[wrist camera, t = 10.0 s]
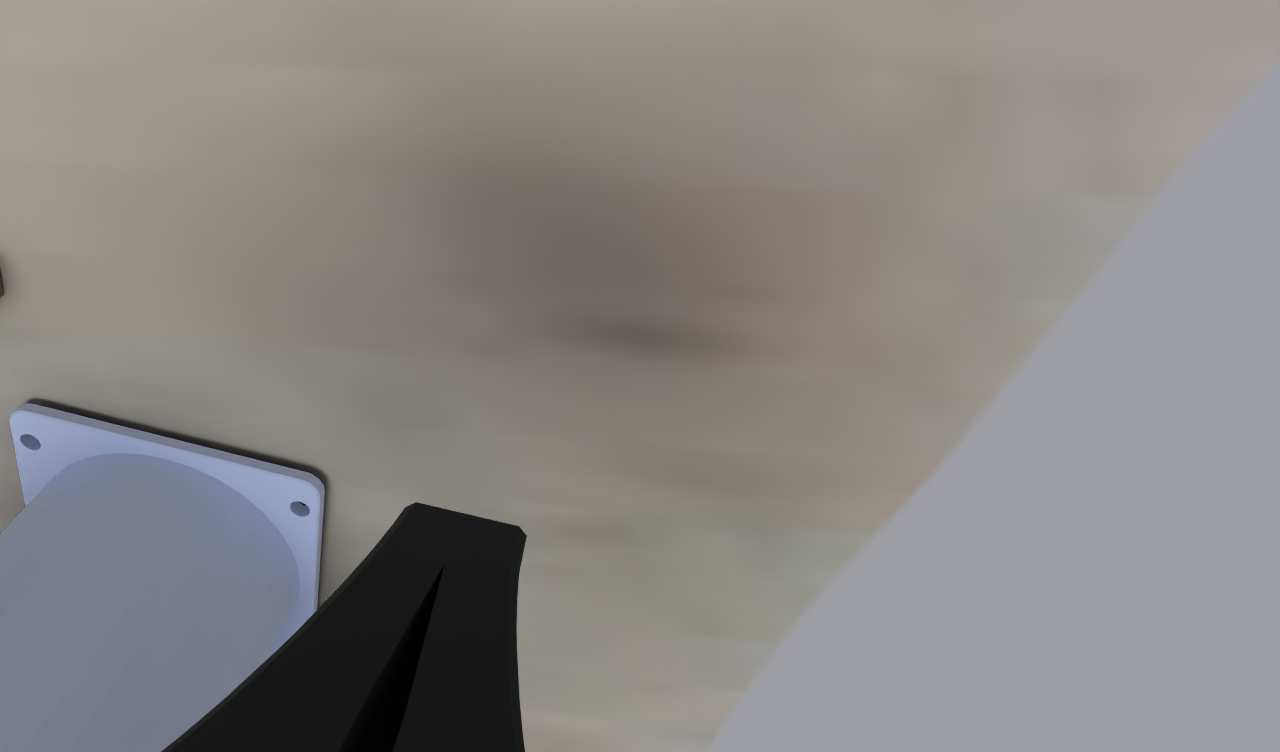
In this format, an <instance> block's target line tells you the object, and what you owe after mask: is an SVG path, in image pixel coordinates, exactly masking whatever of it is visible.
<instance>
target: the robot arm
mask: <svg viewBox="0 0 1280 752" xmlns="http://www.w3.org/2000/svg"><path fill="white" fill-rule="evenodd" d="M9 422H10V427H11V432H12V438H13V443H14V449H15V454H16V459H17V465H18V470H19V476H20V481H21V487H22V492H23V497H24V503H25V508H24V509H23V510H22V511H21V512H20V513H19V514H18V515H17V516H16V518H15V519H14V520H13V521H12V522H11V523H10V524H9V525H8V526H7V527H6V528H5V529H4V530H3V531H2V532H1V534H0V752H525V749H524V740H523V732H522V722H521V711H520V700H519V681H518V663H517V633H516V624H517V593H518V580H519V571H520V566H521V561H522V556H523V552H524V547H525V542H526V537H527V536H526V534H525V533H524V532H523V531H522V529H521V528H520V527H519V526H515V525H511V524H507V523H502V522H498V521H494V520H490V519H485V518H481V517H477V516H472V515H468V514H464V513H460V512H455V511H451V510H447V509H442V508H438V507H434V506H430V505H425V504H421V503H417V502H416V503H413V504H411V505H409V506H407V507H405V509H404V510H403V511H402V513H401V514H400V515H399V517H398V518H397V520H396V521H395V522H394V524H393V525H392V526H391V527H390V529H389V530H388V531H387V532H386V534H385V535H384V536H383V537H382V539H381V540H380V541H379V542H378V544H377V545H376V546H375V547H374V548H373V550H372V551H371V552H370V553H369V554H368V555H367V557H366V558H365V559H364V560H363V561H362V562H361V563H360V565H359V566H358V567H357V568H356V569H355V570H354V571H353V572H352V573H351V575H350V576H349V577H348V578H347V579H346V580H345V581H344V582H343V583H342V585H341V586H340V587H339V588H338V589H337V590H336V591H335V592H334V593H333V594H332V595H331V596H330V597H329V598H328V599H327V600H326V601H325V602H324V603H323V604H322V605H321V606H320V607H319V609H318V610H317V604H318V588H319V573H320V557H321V541H322V525H323V510H324V494H325V490H324V485H323V484H322V482H321V481H320V479H318V478H317V477H316V476H314V475H313V474H310V473H308V472H304V471H300V470H296V469H292V468H288V467H284V466H280V465H276V464H272V463H268V462H264V461H260V460H256V459H252V458H248V457H244V456H240V455H236V454H232V453H228V452H224V451H220V450H216V449H212V448H208V447H204V446H200V445H196V444H192V443H188V442H184V441H180V440H176V439H172V438H168V437H164V436H160V435H156V434H152V433H148V432H144V431H140V430H136V429H132V428H128V427H124V426H120V425H116V424H112V423H108V422H104V421H100V420H96V419H92V418H88V417H84V416H80V415H76V414H72V413H68V412H64V411H60V410H56V409H52V408H48V407H44V406H40V405H36V404H29V403H26V404H23V405H20V406H19V407H18V408H17V409H16V410H15V411H14V412H13V413H12V414H11V415H10V421H9ZM35 437H36V438H35ZM299 502H302V503H304V504H306V505H307V506H304V505H302V504H300V503H299Z"/></svg>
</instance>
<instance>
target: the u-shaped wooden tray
mask: <svg viewBox="0 0 1280 752" xmlns="http://www.w3.org/2000/svg"><path fill="white" fill-rule="evenodd" d="M3 295H4V294H3V288H2V282H1V277H0V297H1V296H3Z"/></svg>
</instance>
